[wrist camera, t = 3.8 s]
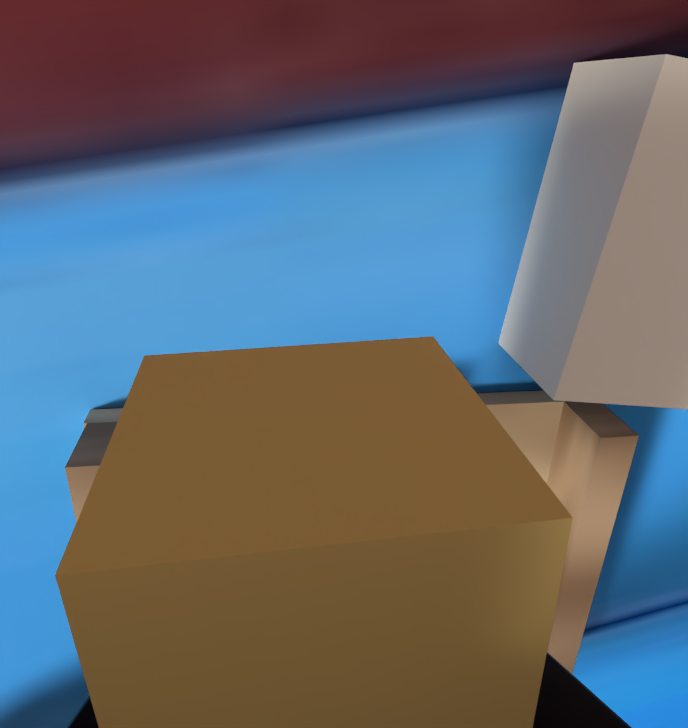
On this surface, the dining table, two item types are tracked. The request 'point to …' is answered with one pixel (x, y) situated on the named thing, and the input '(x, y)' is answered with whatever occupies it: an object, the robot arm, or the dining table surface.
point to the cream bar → (610, 242)
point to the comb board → (547, 455)
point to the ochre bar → (313, 547)
